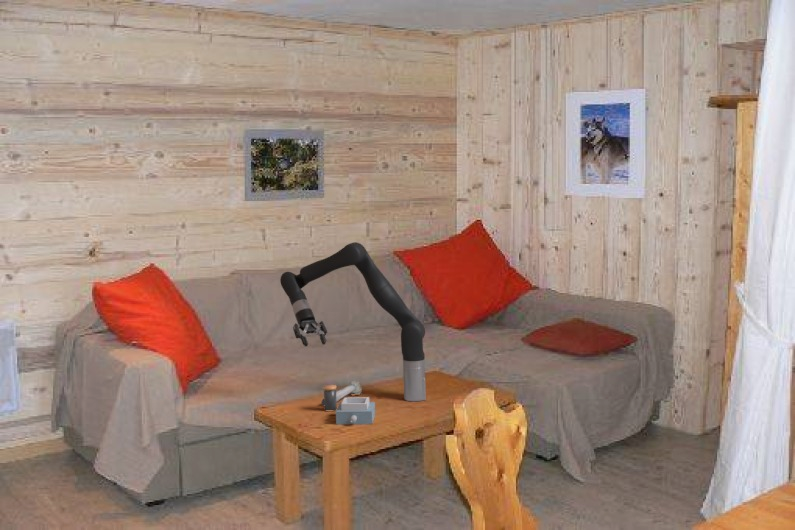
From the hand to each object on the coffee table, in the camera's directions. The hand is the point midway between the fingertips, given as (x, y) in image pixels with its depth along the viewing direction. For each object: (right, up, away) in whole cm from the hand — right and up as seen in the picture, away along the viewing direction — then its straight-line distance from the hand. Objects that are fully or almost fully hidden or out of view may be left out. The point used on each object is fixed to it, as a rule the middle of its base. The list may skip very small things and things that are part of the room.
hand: (315, 344), depth 374 cm
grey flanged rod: (+11, -25, +9) cm, 29 cm away
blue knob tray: (+18, -28, -23) cm, 40 cm away
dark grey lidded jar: (+7, -26, -7) cm, 28 cm away
